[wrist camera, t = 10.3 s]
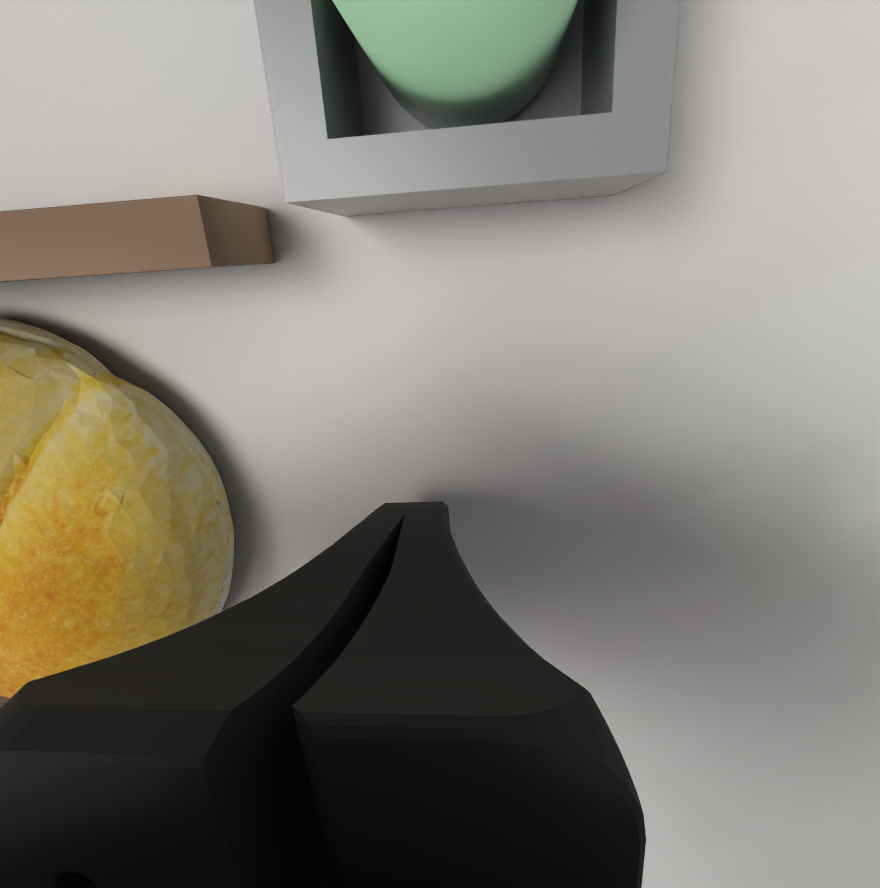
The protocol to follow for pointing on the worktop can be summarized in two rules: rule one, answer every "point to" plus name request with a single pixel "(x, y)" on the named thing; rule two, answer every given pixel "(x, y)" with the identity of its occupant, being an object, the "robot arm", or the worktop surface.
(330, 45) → the button housing
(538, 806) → the robot arm
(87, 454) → the bread roll
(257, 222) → the walnut pocket
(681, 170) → the worktop surface
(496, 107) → the button
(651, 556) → the worktop surface
